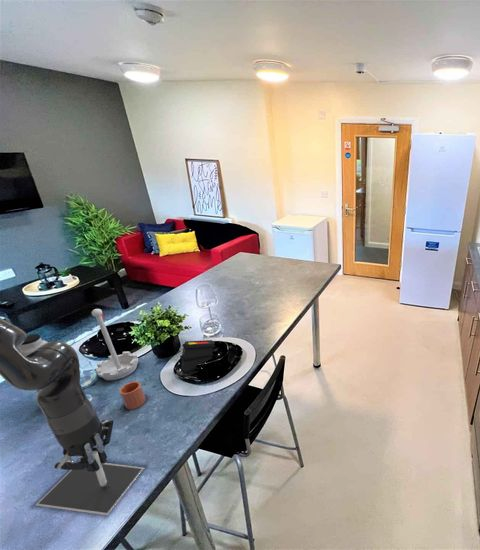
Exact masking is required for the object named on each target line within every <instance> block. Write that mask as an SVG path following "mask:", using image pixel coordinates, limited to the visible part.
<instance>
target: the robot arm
mask: <svg viewBox="0 0 480 550" xmlns="http://www.w3.org/2000/svg"><path fill="white" fill-rule="evenodd" d="M27 336H28V334H27V332H26V331H24V330H23V329H21V328H20V327H19V326H16V325H15V324H13V323H11V322H9V321H7V320H6V319H4V318H2V317H0V376H1V378H2V379H3V380H5V382H7V383H8V384H9V385H10V386H12V387H13V388H15V389H17V390H22V391H29V392H30V391H31V392H32V391H37V390H40V389H41V390H40V391H39V393H38V392H37V394H36V397H35V400H36V403H37V405H38V407H39V409H40V410H41V413H42V414H43V415H44V417H45V420H46V421H45V422H46V424H47V426H48V428H49V429H50V431H51V432H52V434H53V436H54V438H55V439H56V441H57V442H58V444H59V446H61V447H62V455H63V457H62V458H61V461H60V462H59V461H58V462H57V463H55V464H54V466H53V467H54V469H56V470H64V471H70V470H83V469H85V468H86V469H87V471H90V472H94V471H98V470H99V469H100V467H99V465H98V463H97V461H96V460H94V458H93V455H92V454H93V451H97V452H98V455H99V458H100V461H101V464H104V463H107V461H108V460H107V459H108V455H107V453H106V446H107V445H109V444H110V442H111V438H112V432H113V426H114V420H111V419H102V420H100V418H99V416H98V414H97V412H96V410H95V407H94V405H93V404H92V402H91V400H90V399H89V398H88V397H87V395H86V393H85V391H84V389H83V387H82V385H81V369H80V359H79V355H78V353H77V351H76V350H75V348H73V346H71V345H70V344H69V343H66V342H64V341H58V340H53V341H47V342H48V343H45V344H43V345H41V346H40V347H38V348H37V349H36V350H34V351H33V352H31V353H30V354H29V355H27V356H26V357H25V356H24V355H23V354H22V353H21V352H20V351H19V349H20V348H19V347H20V345H21V344H22V343H23V342H24V341H25V340H26V338H27ZM72 457H76V458H78V460H79V461H80V462H79V461H78V462H75V461H74V460H73V459H72Z"/></svg>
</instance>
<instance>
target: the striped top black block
mask: <svg viewBox="0 0 480 550" xmlns="http://www.w3.org/2000/svg"><path fill="white" fill-rule="evenodd" d="M215 343H216V342H214V341H213V339H208V340H207V339H206V340H205V339H204V340H186V341H185V340H184V343H182V347H183V348H182V351H181V355H180V356H179V358H180V360H181V367H180V371H181V372H182V374H183V376H184V378H188V377H191V376H192V375H194V374H196V373H198V372H199V371H194V370H195V369H196V366H197V365H198V364H200V363H203V362H206V361H208V360H210V359H212V360H213V357H214V354H213V351H214V349H215V348H216V345H215ZM192 371H193V372H192ZM185 374H187V375H185Z"/></svg>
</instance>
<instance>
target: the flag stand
mask: <svg viewBox="0 0 480 550" xmlns="http://www.w3.org/2000/svg"><path fill="white" fill-rule="evenodd" d="M91 315H92V316H93V317H95V318H96V321H97V324H98V326H99V328H100V331H101V333H102V335H103V339H104V341H105V343H106V345H107V348H108V350H109V353H110V355H108V358H107V359H106V360H100V361H99V362H98V363H97V365H96V366H97V368H95V372H96V374H97V376H98V377H100V378H103V380H105V381H116V380H120V379H122V378H125V377H127V376H129V375H131V374H132V373H133V372H134V371H135V370H136V369H137V366H138V363H139V357H138V355H137V353H136V352H133V353H131V351H122V354H117V352H116V350H115V347H114V345H113V342H112V339H111V337H110V334H109V331H108V329H107V327H106V324H105V322H104V314H103V310H102V309H101V308H95V309H93V310H92V311H91Z"/></svg>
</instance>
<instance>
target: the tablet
mask: <svg viewBox="0 0 480 550" xmlns="http://www.w3.org/2000/svg"><path fill="white" fill-rule="evenodd" d="M78 462H80V460H79V461H78ZM102 468H103V471H104V474H105V477H106V480H107V483H106V486H105V487H102V486H100V484H99V481H98V477H97V474H96V471H94V472H90V471H87V469H86V468H85V469H83V470H68V472H67V473H66V474H65V475H63V477H62V478H61V479H60V480H59V481H57V483H56V484H55V485H54V486H53V487H52V488H51V489H50V490H49V491H48V492H47V493H46V494H45V495H44V496H43V497H42V498H40V500H38V501H37V503H36V504H34V506H35V507H41V508H48V509H56V510H63V511H71V512H79V513H85V514H92V515H99V516H100V515H101V516H108V515H109V514H110V513H111V511H112V510H113V509H114V507H116V505H117V504H118V502H119V501H120V500H121V499H122V498H123V496H124V495H125V493H126V492H127V491H128V490H129V488H130V487H131V486H132V484H133V483H134V482H135V481H136V479H137V478H138V477H139V476H140V474H141V473H142V472H143V471H144V470H145V467H144V466H134V465H126V464H117V463H110V462H105V463H104V464H102Z"/></svg>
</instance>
